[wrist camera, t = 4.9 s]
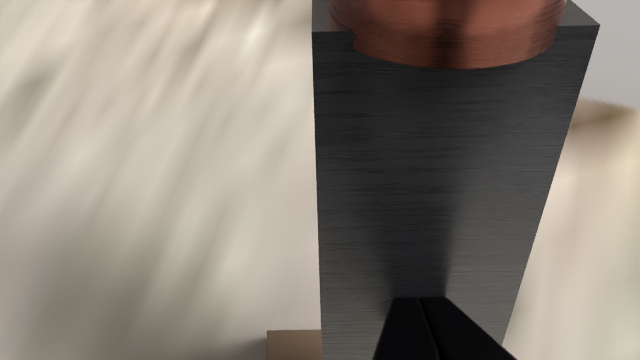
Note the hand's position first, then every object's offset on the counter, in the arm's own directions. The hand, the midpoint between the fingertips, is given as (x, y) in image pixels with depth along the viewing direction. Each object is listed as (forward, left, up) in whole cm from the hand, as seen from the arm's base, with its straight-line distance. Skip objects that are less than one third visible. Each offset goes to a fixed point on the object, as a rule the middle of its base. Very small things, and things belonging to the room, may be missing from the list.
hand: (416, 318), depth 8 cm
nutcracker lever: (-2, +1, -5) cm, 5 cm away
